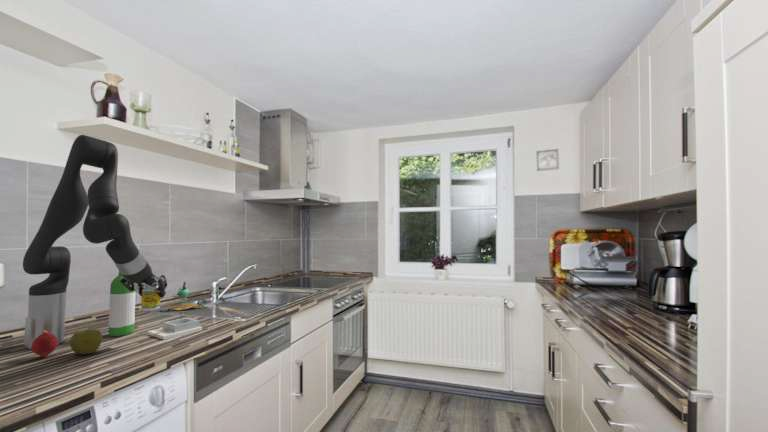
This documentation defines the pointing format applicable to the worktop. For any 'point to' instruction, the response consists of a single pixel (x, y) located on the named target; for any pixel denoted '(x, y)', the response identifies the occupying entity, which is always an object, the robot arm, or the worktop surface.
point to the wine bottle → (121, 309)
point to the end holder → (176, 328)
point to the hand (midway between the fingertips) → (154, 295)
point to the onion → (44, 344)
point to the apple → (86, 341)
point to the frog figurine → (184, 294)
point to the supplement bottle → (150, 299)
